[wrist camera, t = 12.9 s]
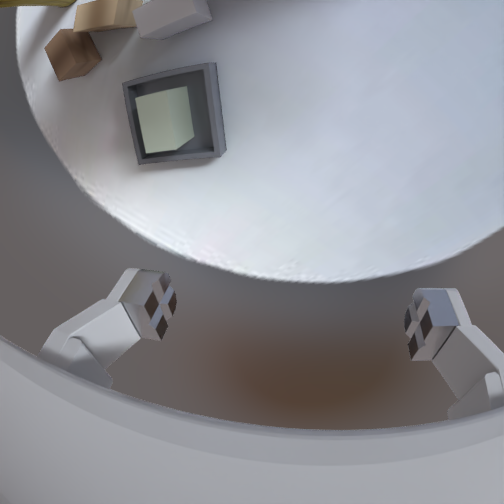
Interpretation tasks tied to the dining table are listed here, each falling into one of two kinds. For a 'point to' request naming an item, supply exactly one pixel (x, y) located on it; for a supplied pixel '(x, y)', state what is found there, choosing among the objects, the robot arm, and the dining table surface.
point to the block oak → (105, 15)
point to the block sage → (165, 119)
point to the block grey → (170, 17)
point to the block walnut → (72, 54)
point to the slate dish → (201, 106)
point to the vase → (35, 3)
